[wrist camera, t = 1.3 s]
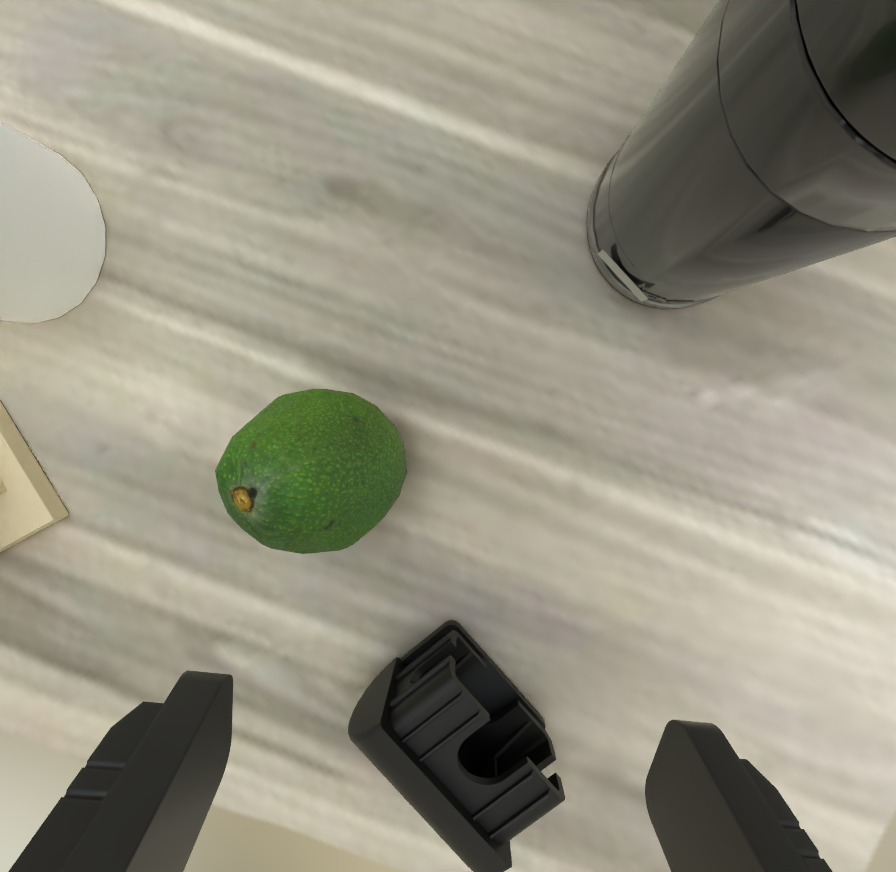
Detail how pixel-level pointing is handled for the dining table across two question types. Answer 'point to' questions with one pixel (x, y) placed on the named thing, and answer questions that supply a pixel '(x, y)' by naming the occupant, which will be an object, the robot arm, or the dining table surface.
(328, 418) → the avocado
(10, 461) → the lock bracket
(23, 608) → the dining table surface
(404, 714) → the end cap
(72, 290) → the mug
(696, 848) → the robot arm
